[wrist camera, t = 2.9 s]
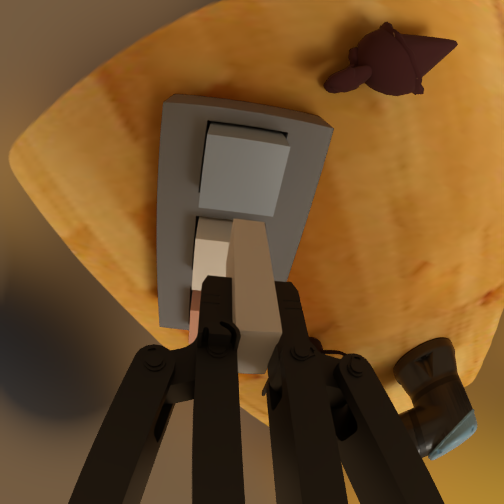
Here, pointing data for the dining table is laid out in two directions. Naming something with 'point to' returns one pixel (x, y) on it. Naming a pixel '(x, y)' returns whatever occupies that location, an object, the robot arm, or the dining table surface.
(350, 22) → the dining table surface
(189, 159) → the key panel
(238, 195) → the slate key
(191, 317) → the terracotta key
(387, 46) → the dark brown irregular piece
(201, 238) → the white key
